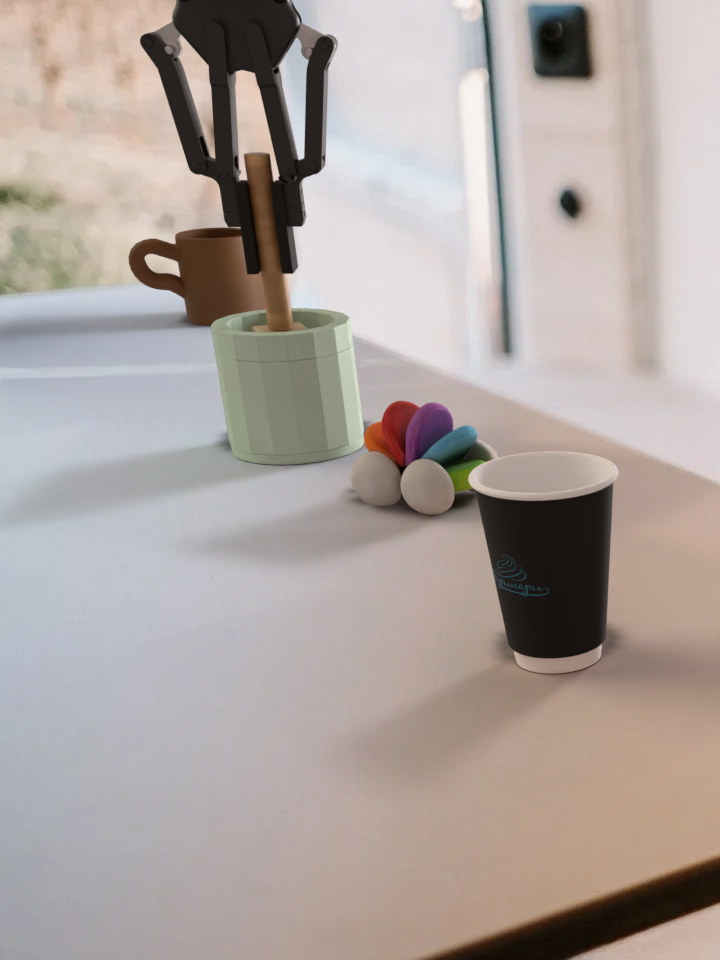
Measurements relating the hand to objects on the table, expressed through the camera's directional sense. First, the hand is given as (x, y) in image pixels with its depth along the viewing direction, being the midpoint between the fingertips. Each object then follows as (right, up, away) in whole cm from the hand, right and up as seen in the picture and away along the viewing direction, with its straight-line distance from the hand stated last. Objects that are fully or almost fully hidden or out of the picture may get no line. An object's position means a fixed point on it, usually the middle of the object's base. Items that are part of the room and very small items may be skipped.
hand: (272, 270), depth 122 cm
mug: (-25, +4, +42) cm, 49 cm away
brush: (0, -7, +3) cm, 7 cm away
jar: (0, -13, +5) cm, 14 cm away
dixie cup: (+29, -29, -30) cm, 51 cm away
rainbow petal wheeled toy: (+14, -18, -6) cm, 23 cm away
